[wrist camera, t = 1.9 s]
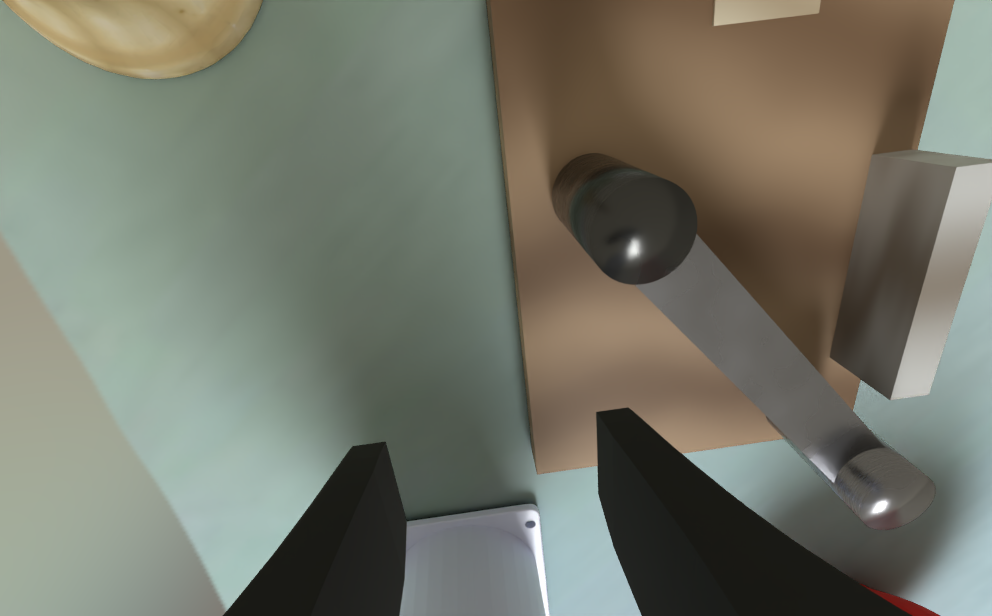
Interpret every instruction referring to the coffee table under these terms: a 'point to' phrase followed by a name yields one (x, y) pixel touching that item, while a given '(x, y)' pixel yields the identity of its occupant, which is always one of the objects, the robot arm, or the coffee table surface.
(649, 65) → the press base
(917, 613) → the ceramic cup
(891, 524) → the lever
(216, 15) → the hand bell
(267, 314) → the coffee table surface
